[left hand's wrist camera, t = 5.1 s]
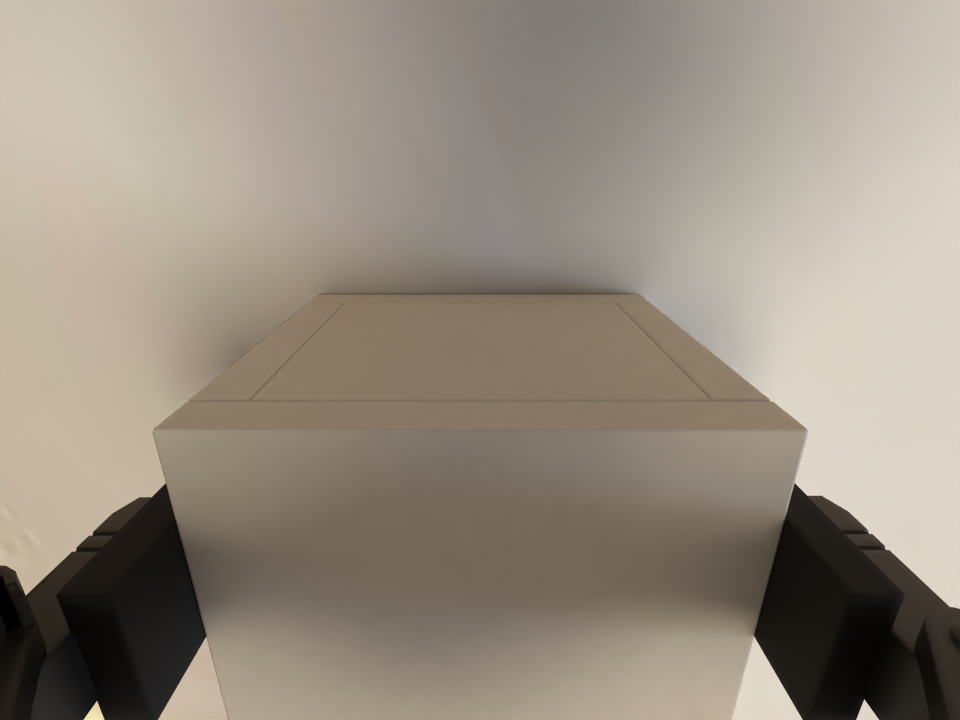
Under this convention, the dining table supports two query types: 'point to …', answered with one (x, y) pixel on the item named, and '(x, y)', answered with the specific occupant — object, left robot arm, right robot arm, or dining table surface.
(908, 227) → the dining table surface
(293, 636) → the cabinet
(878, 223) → the dining table surface
